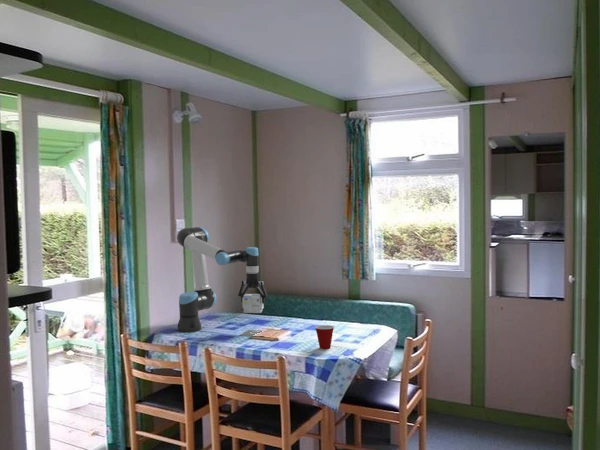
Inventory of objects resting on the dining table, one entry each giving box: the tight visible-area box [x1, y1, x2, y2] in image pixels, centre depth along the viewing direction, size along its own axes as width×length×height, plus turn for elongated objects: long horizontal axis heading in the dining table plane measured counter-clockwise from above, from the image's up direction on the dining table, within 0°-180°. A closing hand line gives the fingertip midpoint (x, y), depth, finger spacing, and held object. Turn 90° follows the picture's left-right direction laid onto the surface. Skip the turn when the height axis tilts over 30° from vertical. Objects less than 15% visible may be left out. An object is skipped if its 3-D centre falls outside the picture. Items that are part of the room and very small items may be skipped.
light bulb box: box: [243, 293, 263, 314], centre depth 319 cm, size 11×7×11 cm, turn 84°
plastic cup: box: [314, 324, 335, 350], centre depth 283 cm, size 11×11×12 cm
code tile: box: [239, 329, 263, 337], centre depth 317 cm, size 20×14×1 cm
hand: (253, 308), depth 319 cm, fingers closed on light bulb box, 11 cm apart
